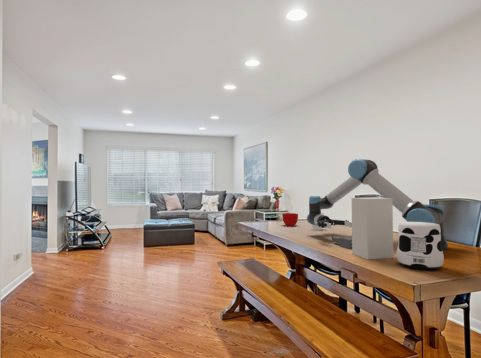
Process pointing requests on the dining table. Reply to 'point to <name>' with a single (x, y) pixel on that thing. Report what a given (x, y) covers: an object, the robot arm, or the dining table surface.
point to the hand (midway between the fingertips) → (341, 225)
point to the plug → (343, 242)
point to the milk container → (420, 245)
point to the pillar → (372, 227)
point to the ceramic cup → (290, 219)
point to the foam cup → (318, 226)
